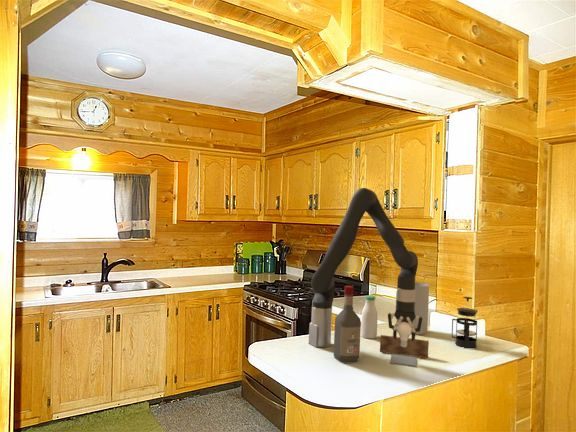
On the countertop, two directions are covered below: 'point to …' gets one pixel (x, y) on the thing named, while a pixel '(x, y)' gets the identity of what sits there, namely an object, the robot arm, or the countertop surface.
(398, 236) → the robot arm
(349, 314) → the liquor
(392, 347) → the brown wooden block
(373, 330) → the milk bottle
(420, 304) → the cylinder vase
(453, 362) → the countertop surface
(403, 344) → the lightbulb
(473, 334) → the french press
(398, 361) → the mat
